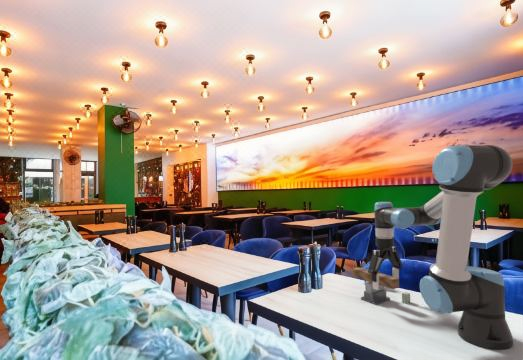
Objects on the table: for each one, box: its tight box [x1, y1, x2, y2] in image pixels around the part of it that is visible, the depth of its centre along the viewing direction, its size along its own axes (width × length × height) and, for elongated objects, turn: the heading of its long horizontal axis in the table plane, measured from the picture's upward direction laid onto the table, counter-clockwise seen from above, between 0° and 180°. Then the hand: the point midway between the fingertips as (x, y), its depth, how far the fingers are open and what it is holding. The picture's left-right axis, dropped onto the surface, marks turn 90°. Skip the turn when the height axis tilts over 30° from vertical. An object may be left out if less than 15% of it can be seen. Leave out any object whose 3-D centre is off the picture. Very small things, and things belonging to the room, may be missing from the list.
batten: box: [352, 266, 400, 290], centre depth 144 cm, size 22×4×4 cm, turn 32°
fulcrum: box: [360, 282, 391, 306], centre depth 144 cm, size 8×10×8 cm
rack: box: [364, 281, 411, 305], centre depth 148 cm, size 22×3×4 cm, turn 32°
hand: (386, 286), depth 139 cm, fingers open, 13 cm apart
